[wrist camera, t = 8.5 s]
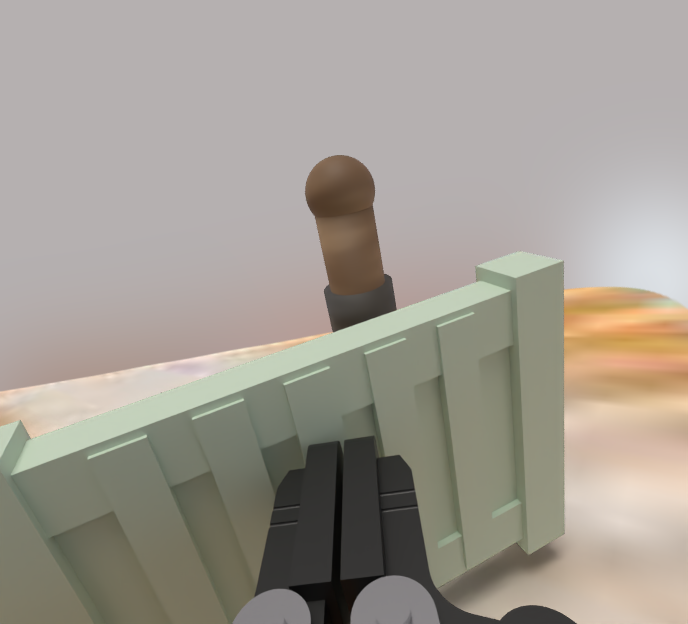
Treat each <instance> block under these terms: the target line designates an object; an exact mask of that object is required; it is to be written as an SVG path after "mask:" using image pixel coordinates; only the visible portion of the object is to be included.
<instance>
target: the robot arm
mask: <svg viewBox="0 0 688 624" xmlns="http://www.w3.org/2000/svg"><path fill="white" fill-rule="evenodd" d="M232 624H577V623H575V622H574V621H573V620H571V619H570V618H568V617H567V616H565V615H564V614H562V613H560V612H558V611H556V610H553V609H550V608H547V607H543V606H536V605H528V606H521V607H518V608H515V609H513V610H511V611H510V612H508V613H507V614H506V615H505V616H503V617H502V619H501V620H496V619H491V618H487V617H483V616H479V615H474V614H471V613H468V612H465V611H463V610H461V609H459V608H457V607H455V606H454V605H452V604H451V603H449V602H448V601H447V600H446V599H445V598H444V597H443V596H442V595H441V594H440V593H439V591H438V590H437V588H436V587H435V585H434V583H433V581H432V579H431V575H430V571H429V566H428V560H427V554H426V549H425V543H424V537H423V532H422V526H421V520H420V515H419V509H418V503H417V498H416V492H415V486H414V481H413V475H412V469H411V468H410V467H409V466H408V464H407V463H406V462H405V461H404V459H403V458H402V457H401V456H400V455H394V456H387V457H380V458H379V453H378V448H377V443H376V439H375V436H367V437H360V438H353V439H346V440H344V455H343V451H342V447H341V444H340V441H333V442H326V443H319V444H313V445H309V446H308V450H307V457H306V464H305V468H302V469H295V470H289V471H288V473H287V474H286V476H285V477H284V479H283V480H282V482H281V483H280V485H279V486H278V488H277V492H276V496H275V501H274V506H273V511H272V515H271V520H270V528H269V530H268V534H267V539H266V544H265V549H264V554H263V558H262V563H261V568H260V573H259V577H258V582H257V587H256V592H255V595H254V598H253V599H252V600H250V601H249V602H248V603H247V604H246V605H245V606H244V607H243V608H242V609H241V610H240V612H239V613H238V614H237V616H236V618H235V619H234V621H233V623H232Z"/></svg>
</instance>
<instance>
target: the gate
mask: <svg viewBox="0 0 688 624" xmlns="http://www.w3.org/2000/svg"><path fill="white" fill-rule="evenodd" d="M475 268H476V281H477V282H476V283H473V284H470V285H467V286H464V287H461V288H459V289H456V290H453V291H450V292H447V293H444V294H442V295H439V296H436V297H433V298H430V299H428V300H424V301H422V302H419V303H416V304H413V305H410V306H407V307H405V308H402V309H399V310H396V311H393V312H390V313H387V314H385V315H382V316H379V317H376V318H373V319H370V320H368V321H365V322H362V323H359V324H356V325H353V326H351V327H348V328H345V329H342V330H339V331H336V332H333V333H331V334H328V335H325V336H322V337H319V338H316V339H314V340H311V341H308V342H305V343H302V344H299V345H297V346H294V347H291V348H288V349H285V350H282V351H280V352H277V353H274V354H271V355H268V356H265V357H262V358H260V359H257V360H254V361H251V362H248V363H245V364H243V365H240V366H237V367H234V368H231V369H228V370H226V371H223V372H220V373H217V374H214V375H211V376H209V377H206V378H203V379H200V380H197V381H194V382H191V383H189V384H186V385H183V386H180V387H177V388H174V389H172V390H169V391H166V392H163V393H160V394H157V395H155V396H152V397H149V398H146V399H143V400H140V401H138V402H135V403H132V404H129V405H126V406H123V407H120V408H118V409H115V410H112V411H109V412H106V413H103V414H101V415H98V416H95V417H92V418H89V419H86V420H84V421H81V422H78V423H75V424H72V425H69V426H67V427H64V428H61V429H58V430H55V431H52V432H49V433H47V434H44V435H41V436H38V437H35V438H32V439H31V438H30V436H29V434H28V433H27V431H26V429H25V427H24V426H23V424H22V422H21V420H19V421H16V422H13V423H10V424H7V425H4V426H1V427H0V624H232V623H233V621H234V619H235V618H236V616H237V614H238V613H239V612H240V610H241V609H242V608H243V607H244V606H245V605H246V604H247V603H248V602H249V601H250V600H252V599H253V598H254V595H255V592H256V587H257V582H258V577H259V573H260V568H261V563H262V558H263V554H264V549H265V544H266V539H267V534H268V530H269V528H270V520H271V515H272V511H273V506H274V501H275V496H276V492H277V488H278V486H279V485H280V483H281V482H282V480H283V479H284V477H285V476H286V474H287V473H288V471H289V470H295V469H302V468H305V464H306V457H307V450H308V446H309V445H313V444H319V443H326V442H333V441H340V444H341V447H342V451H343V455H344V440H346V439H353V438H360V437H367V436H375V439H376V443H377V448H378V453H379V458H380V457H387V456H394V455H400V456H401V457H402V458H403V459H404V461H405V462H406V463H407V464H408V466H409V467H410V468H411V469H412V475H413V481H414V486H415V492H416V498H417V503H418V509H419V515H420V520H421V526H422V532H423V537H424V543H425V549H426V554H427V560H428V566H429V571H430V575H431V579H432V581H433V583H434V585H435V587H436V588H439V587H441V586H442V585H444V584H446V583H448V582H449V581H451V580H453V579H454V578H456V577H458V576H460V575H461V574H463V573H465V572H466V571H468V570H470V569H472V568H473V567H475V566H477V565H478V564H480V563H482V562H484V561H485V560H487V559H489V558H490V557H492V556H494V555H496V554H497V553H499V552H501V551H502V550H504V549H506V548H508V547H509V546H511V545H513V544H514V543H517V544H518V545H519V546H520V547H521V548H522V549H523V550H524V551H525V552H526V553H527V554H528V555H530V554H532V553H533V552H535V551H537V550H538V549H540V548H542V547H543V546H545V545H547V544H548V543H550V542H552V541H553V540H555V539H557V538H558V537H560V536H562V535H563V534H564V261H563V260H558V259H553V258H549V257H544V256H540V255H535V254H531V253H526V252H521V251H518V252H515V253H512V254H509V255H506V256H503V257H500V258H497V259H494V260H492V261H488V262H486V263H483V264H480V265H477V266H475Z"/></svg>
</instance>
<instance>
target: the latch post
mask: <svg viewBox="0 0 688 624" xmlns="http://www.w3.org/2000/svg"><path fill="white" fill-rule="evenodd" d="M305 195H306V201H307V204H308V206H309V208H310V210H311V212H312V213H313V214H314V216H315V219H316V224H317V229H318V233H319V238H320V243H321V247H322V252H323V257H324V261H325V266H326V270H327V275H328V280H329V285H328V286H327V287H326V288H325V289H324V294H325V298H326V303H327V308H328V312H329V316H330V321H331V326H332V330H333V332H336V331H339V330H342V329H345V328H348V327H351V326H353V325H356V324H359V323H362V322H365V321H368V320H370V319H373V318H376V317H379V316H382V315H385V314H387V313H390V312H393V311H396V310H397V309H396V303H395V296H394V291H393V284H392V278H391V277H390V276H389V275H387V274H384V271H383V266H382V260H381V253H380V247H379V241H378V235H377V229H376V223H375V216H374V210H373V201H374V196H375V186H374V181H373V178H372V176H371V174H370V172H369V171H368V169H367V168H366V167H365V166H364V165H363V164H362V163H361V162H359V161H358V160H356V159H355V158H352V157H349V156H344V155H336V156H331V157H328V158H325V159H324V160H322V161H320V162H319V163H318V164H317V165H316V166H315V167H314V168H313V169H312V171H311V172H310V174H309V176H308V179H307V182H306V188H305Z"/></svg>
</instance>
